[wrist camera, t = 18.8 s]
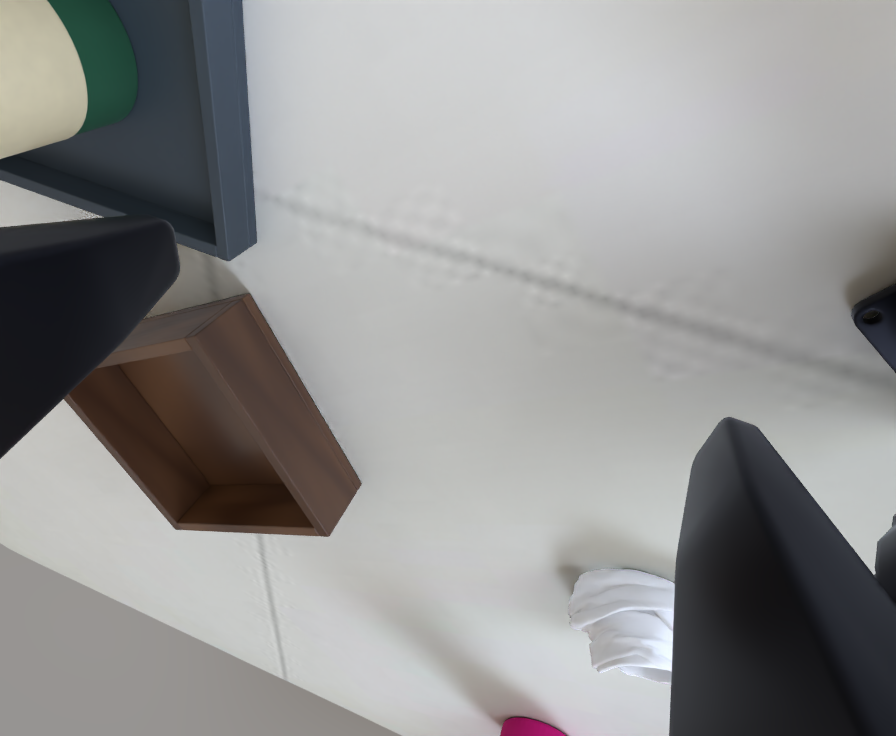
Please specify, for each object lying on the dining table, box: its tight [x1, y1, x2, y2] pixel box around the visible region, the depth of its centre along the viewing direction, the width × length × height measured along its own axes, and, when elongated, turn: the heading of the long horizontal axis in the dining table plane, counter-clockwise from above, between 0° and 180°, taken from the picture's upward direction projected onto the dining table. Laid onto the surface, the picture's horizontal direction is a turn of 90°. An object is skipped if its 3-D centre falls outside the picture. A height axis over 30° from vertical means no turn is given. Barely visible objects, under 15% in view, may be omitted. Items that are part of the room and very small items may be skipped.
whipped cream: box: [568, 568, 675, 685], centre depth 30 cm, size 8×7×5 cm
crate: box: [64, 294, 362, 537], centre depth 32 cm, size 13×13×4 cm
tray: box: [0, 0, 257, 261], centre depth 22 cm, size 15×13×2 cm
